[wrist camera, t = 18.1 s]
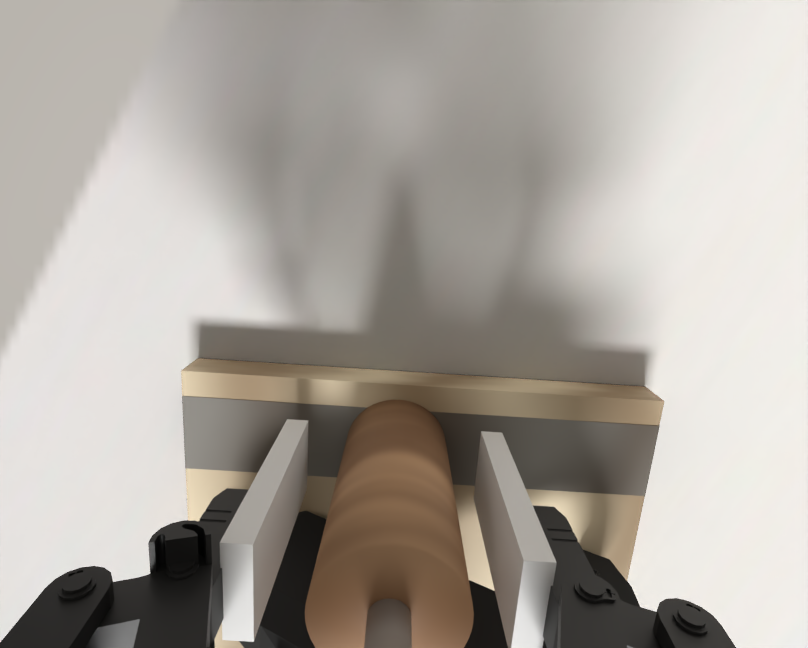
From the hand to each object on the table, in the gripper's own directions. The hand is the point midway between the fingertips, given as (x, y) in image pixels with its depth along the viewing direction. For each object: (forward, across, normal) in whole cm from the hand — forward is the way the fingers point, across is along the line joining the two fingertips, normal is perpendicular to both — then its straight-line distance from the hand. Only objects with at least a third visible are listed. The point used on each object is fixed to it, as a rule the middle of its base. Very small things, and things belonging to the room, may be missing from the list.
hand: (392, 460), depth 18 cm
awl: (+1, 0, 0) cm, 1 cm away
